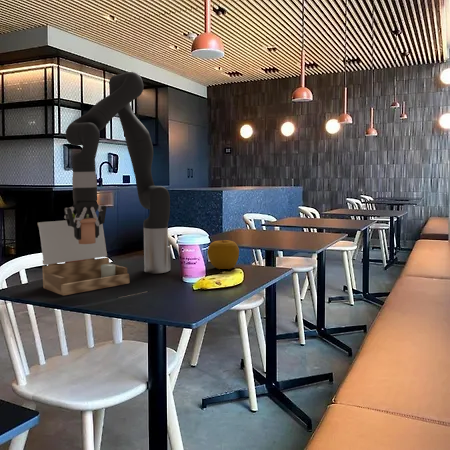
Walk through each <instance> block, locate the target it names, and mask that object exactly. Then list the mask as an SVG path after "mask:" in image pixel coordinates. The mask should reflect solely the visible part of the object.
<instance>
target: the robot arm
mask: <svg viewBox="0 0 450 450" xmlns="http://www.w3.org/2000/svg"><path fill="white" fill-rule="evenodd" d="M108 81H109V82H108V86H109V87H108V88H109V92H110V94H109V95H106V97H104V98H102V99H101V100H99V101H97V102H96V103H95V104H94V105H93V106H92V107H91V108H90V109H89V110H88V111H87V113H85V114H83V115H81V116H80V117H78V118H77V119H74V120H73V121H71V123H69V125H68V126H67V128H66V129H65V138H66V141H67V143H68V144H70V145H72V146H75V147H77V146H82V148H81V150H80V151H79V152H77V153H75V154H73V155H72V157H71V158H72V161H71V163H72V178H71V179H72V181H71V183H72V199H73V205H72V206H70V207H64V209H63V210H64V211H63V212H64V216H66V219H65V220H67V224H68V226H71V227H73V228H74V237H75V238H76V239H77V240H81V228H80V225H81V223H80V221H81V219H83V218H87V214H89V218H96V222H95V235H96V238H98V236H99V225H101V224H105V220H106V213H107V206H106V205H100V204H98V182H97V181H98V180H97V173H96V157H97V153H98V149H99V148H98V147H99V144H100V139H101V138H100V135H101V134H100V131H101V130H104V128H106V126H107V125H108V124H109V123H110V121H112V119H113V118H114V117H115V116H116V115H117V116H118V118H119V120H120V121H119V122H120V125H121V128H122V132H123V134H124V140H125V143H126V144H125V145H126V148H127V152H128V155H129V157H130V161H131V165H132V170H133V173H134V178H135V179H134V180H135V185H136V190H137V196H138V201H139V203H140V205H141V206H142V207H143V208H144V209H146V210H149V215H148V217H147V218H145V219H144V220H143V254H144V255H143V260H144V261H143V263H144V264H143V266H144V268H143V269H144V272H145V273H149V274H163V273H164V274H165V273H168V272H169V271H171V246H169V234H168V233H169V230H168V229H169V228H168V227H169V225H168V223H169V220H170V216H171V215H170V214H171V213H170V212H171V197H170V192H169V191H168V189H167V188H166V187H164V186H162V185H155V183H154V179H153V175H152V165H153V159H154V146H153V142H152V137H151V134H150V132H149V130H148V129H147V128H146V126H145V125H144V124H143V123H142V122H141V121H140V119H138V117H137V116H136V115H135V112H134V111H133V109H132V106H131V102H132V101H135V100H136V99H137V98H139V97H140V96H141V95H142V94H143V92H144V82H143V81H144V80H143V79H142V77H141V75H140V74H138V73H137V72H135V71H127V72H124V73H119V74H116V75H112V76H111V77H110V79H109V80H108ZM97 211H98V214H97V213H96V212H97ZM73 213H74V214H75V219H74V217H73ZM74 220H75V221H74ZM77 220H78V221H77Z"/></svg>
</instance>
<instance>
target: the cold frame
mask: <svg viewBox="0 0 450 450" xmlns="http://www.w3.org/2000/svg"><path fill="white" fill-rule="evenodd" d="M104 264H111V262H110V258H109V257H99V258H92V259H86V260H85V261H78V262H70V263H65V262H62V263H55V264H47V265H42V269H41V271H42V287H43V288H42V289H44V290H47V291H50V292H53V293H55V294H57V295H61V296H68V295H73V294H78V293H83V292H84V293H85V292H90V291H95V290H101V289H105V288H111V287H117V286H122V285H127V284H128V285H129V284H131V283H130V273H128V267H126V266H121V265H118V264H115V274H116V275H115V276H109V277H103V278H101V265H104Z"/></svg>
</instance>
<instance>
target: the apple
mask: <svg viewBox="0 0 450 450" xmlns="http://www.w3.org/2000/svg"><path fill="white" fill-rule="evenodd" d="M207 257H208V261H209V262H210V264H211V265H212V266H213V267H214V268H215V269H217V270H220V269H228V270H231V269H233V268H234V267H235V266H236V265H237V263H238V260H239V257H240V248H239V246H238V244H237V243H236V242H235V241H233V240H227V239H223V240H214V241H213V242H211V243H210V244H209V245H208V248H207Z"/></svg>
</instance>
